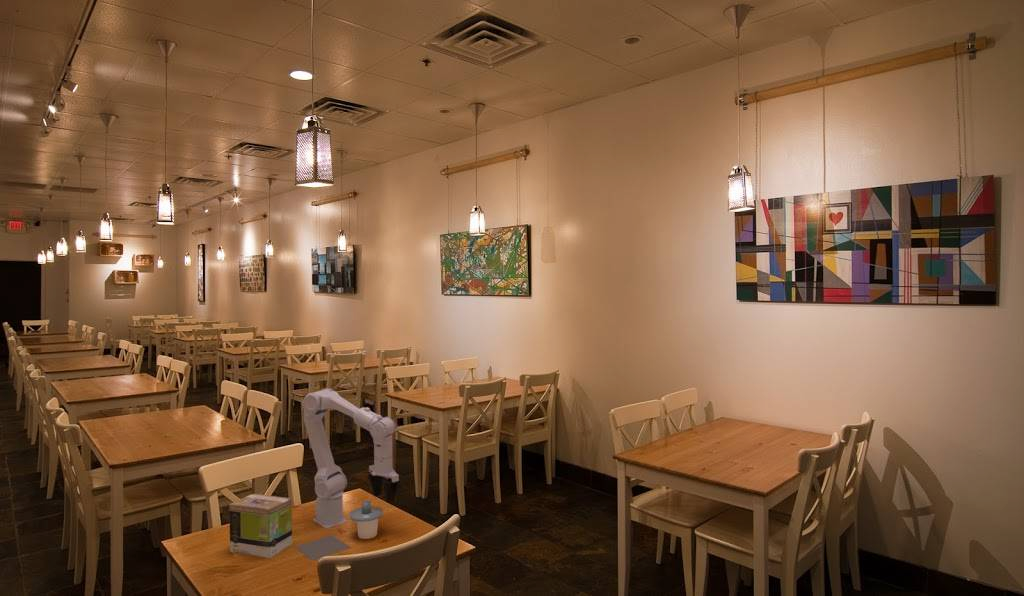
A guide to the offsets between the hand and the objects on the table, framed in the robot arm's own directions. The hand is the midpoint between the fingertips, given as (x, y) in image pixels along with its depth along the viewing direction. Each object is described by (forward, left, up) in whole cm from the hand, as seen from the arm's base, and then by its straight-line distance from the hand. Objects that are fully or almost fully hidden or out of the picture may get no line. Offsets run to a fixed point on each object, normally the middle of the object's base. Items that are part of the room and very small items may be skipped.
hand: (383, 498), depth 184 cm
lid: (0, -6, -3) cm, 7 cm away
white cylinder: (0, -6, -11) cm, 12 cm away
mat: (-2, -20, -10) cm, 23 cm away
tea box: (-15, -33, -11) cm, 38 cm away
